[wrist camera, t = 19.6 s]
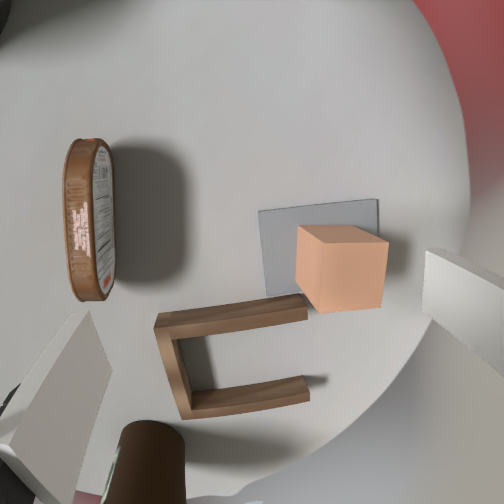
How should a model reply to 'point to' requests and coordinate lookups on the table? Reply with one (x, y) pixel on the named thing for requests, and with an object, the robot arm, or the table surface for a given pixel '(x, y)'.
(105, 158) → the tin
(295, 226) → the mat
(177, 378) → the bay
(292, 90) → the table surface
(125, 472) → the olive oil
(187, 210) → the table surface
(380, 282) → the block
